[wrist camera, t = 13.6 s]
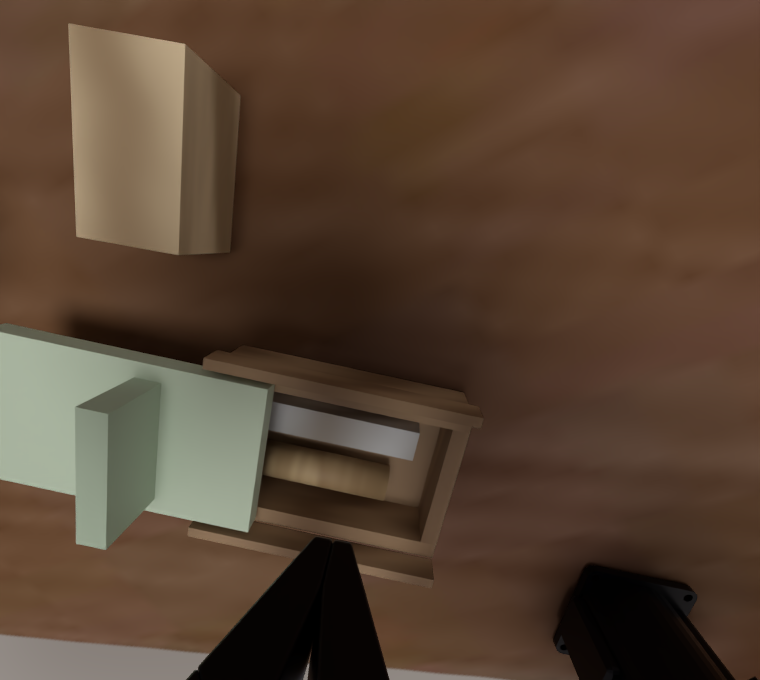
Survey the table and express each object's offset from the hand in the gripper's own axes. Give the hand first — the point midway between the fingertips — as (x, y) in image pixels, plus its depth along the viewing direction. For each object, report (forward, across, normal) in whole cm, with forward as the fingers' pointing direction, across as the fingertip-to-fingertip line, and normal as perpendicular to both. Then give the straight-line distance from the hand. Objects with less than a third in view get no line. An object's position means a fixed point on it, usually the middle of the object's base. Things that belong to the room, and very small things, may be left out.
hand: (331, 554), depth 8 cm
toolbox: (+12, +1, +4) cm, 13 cm away
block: (+12, +10, -9) cm, 18 cm away
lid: (+9, +10, +4) cm, 14 cm away
